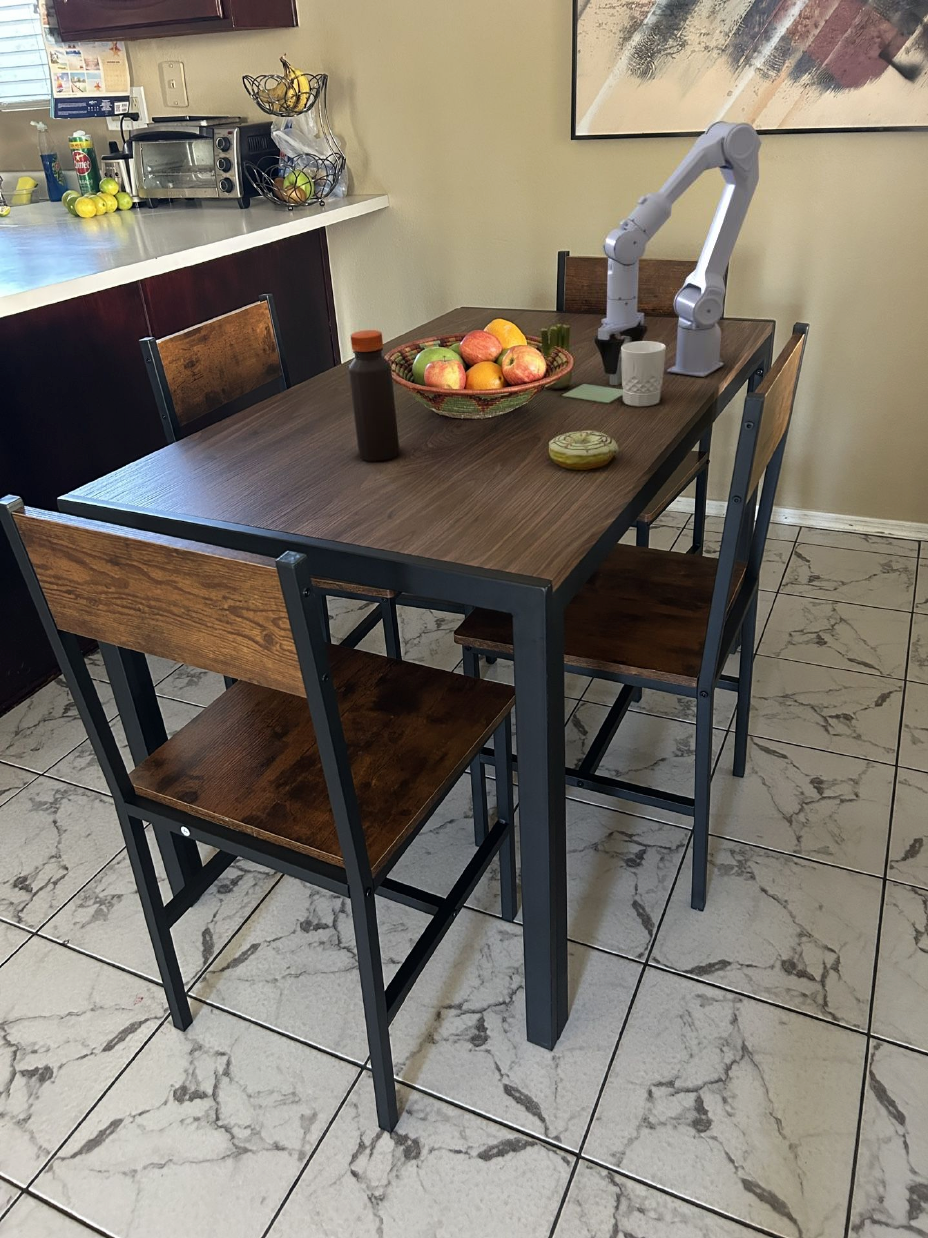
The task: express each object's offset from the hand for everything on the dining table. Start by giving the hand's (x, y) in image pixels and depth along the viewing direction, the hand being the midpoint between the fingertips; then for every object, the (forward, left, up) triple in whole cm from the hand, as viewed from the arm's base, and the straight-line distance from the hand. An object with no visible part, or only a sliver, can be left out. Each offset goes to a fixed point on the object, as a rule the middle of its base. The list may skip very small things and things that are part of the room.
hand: (620, 368), depth 183 cm
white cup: (+10, +10, -2) cm, 14 cm away
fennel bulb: (+10, -8, -2) cm, 13 cm away
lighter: (0, 0, -2) cm, 2 cm away
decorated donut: (+41, +16, -2) cm, 44 cm away
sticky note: (+10, 0, -2) cm, 10 cm away
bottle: (+55, -15, -2) cm, 57 cm away
